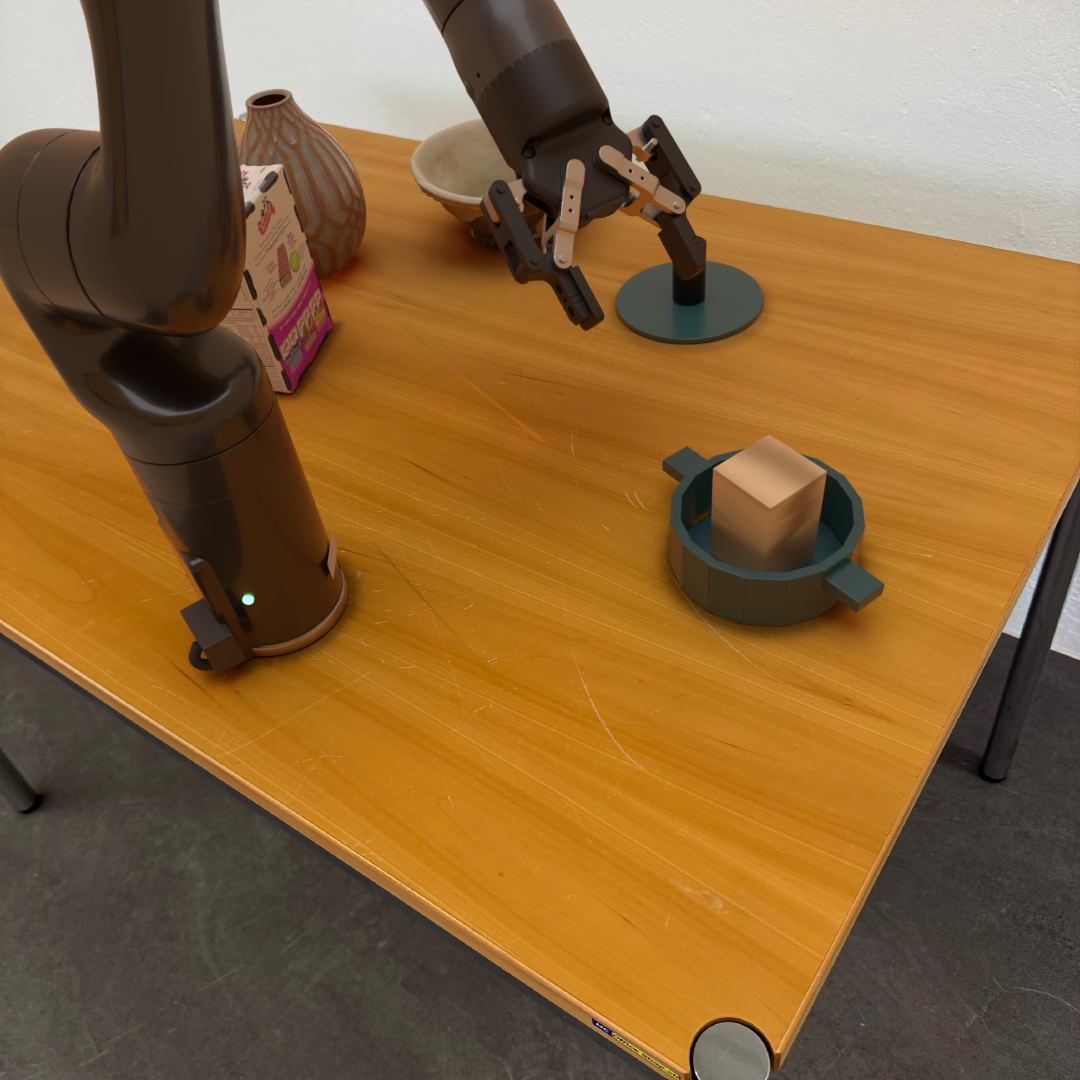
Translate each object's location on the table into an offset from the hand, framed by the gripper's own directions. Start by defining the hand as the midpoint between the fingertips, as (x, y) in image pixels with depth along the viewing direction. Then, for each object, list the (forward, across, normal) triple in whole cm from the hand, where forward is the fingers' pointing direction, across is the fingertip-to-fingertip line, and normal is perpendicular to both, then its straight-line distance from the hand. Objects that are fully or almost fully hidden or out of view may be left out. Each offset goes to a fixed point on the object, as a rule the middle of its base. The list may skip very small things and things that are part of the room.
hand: (646, 299), depth 62 cm
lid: (0, +18, +22) cm, 28 cm away
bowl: (-17, +14, +39) cm, 45 cm away
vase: (-24, -4, +46) cm, 52 cm away
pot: (+19, 0, +3) cm, 20 cm away
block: (+19, 0, +3) cm, 19 cm away
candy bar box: (-14, -14, +36) cm, 41 cm away
